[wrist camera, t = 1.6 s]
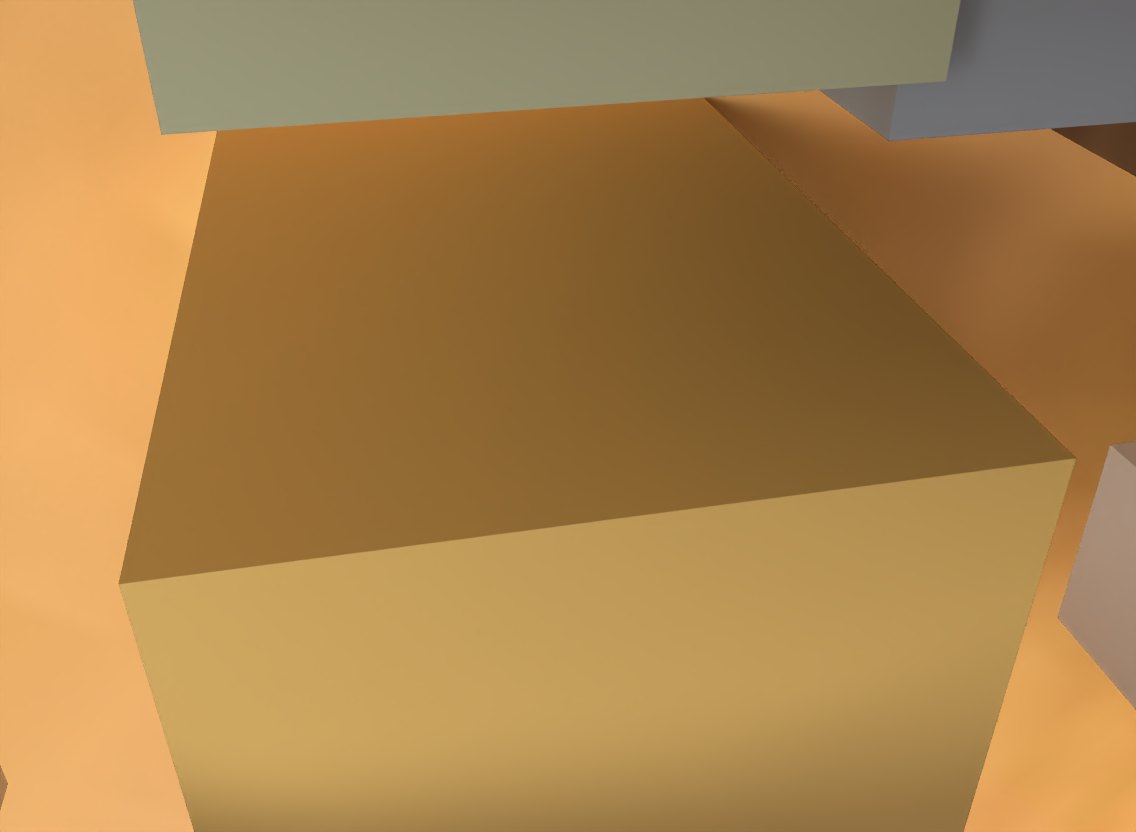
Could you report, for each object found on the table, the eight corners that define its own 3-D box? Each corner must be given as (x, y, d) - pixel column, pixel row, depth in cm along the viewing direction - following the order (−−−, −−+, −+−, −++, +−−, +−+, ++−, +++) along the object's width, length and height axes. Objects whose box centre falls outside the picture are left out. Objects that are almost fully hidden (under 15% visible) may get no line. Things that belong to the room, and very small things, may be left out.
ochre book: (271, 417, 20) (242, 987, 11) (217, 128, 17) (118, 584, 8) (691, 372, 22) (969, 847, 13) (709, 95, 19) (1092, 455, 10)
